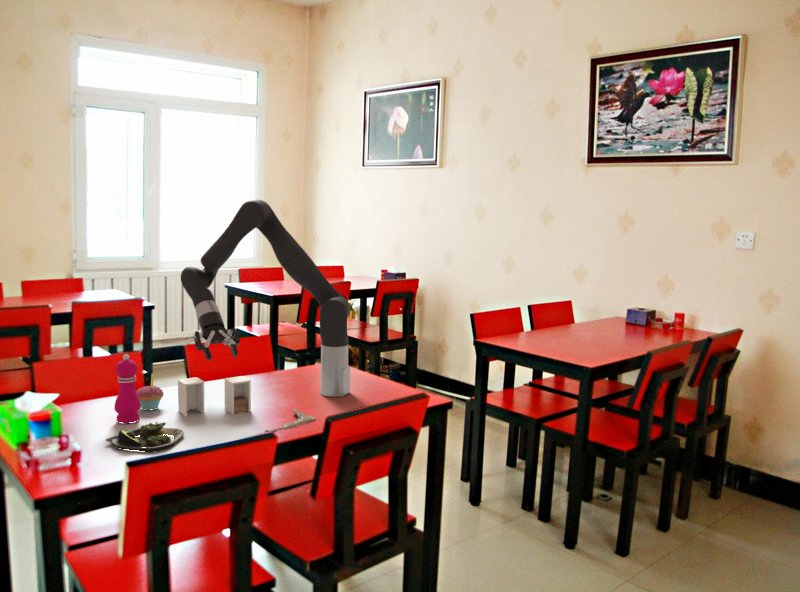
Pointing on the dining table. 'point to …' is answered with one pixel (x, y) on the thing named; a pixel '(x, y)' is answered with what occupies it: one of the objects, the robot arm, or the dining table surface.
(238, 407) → the walnut cube
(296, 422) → the jawbone
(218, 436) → the dining table surface
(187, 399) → the hood empty
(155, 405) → the cupcake
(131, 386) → the pepper mill
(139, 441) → the salad plate
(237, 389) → the hood cube
